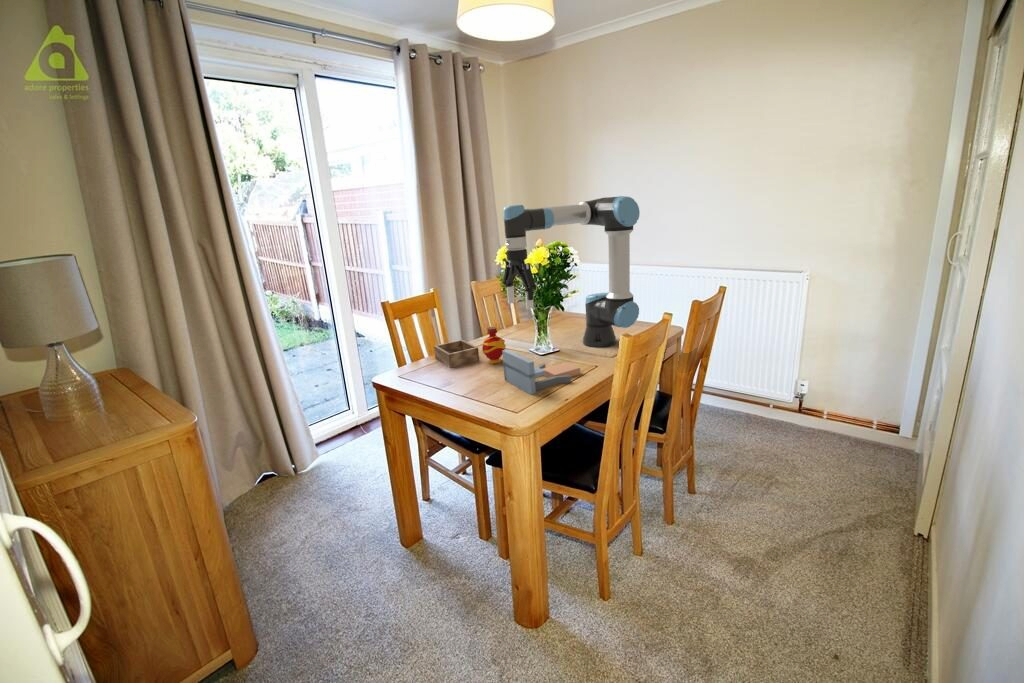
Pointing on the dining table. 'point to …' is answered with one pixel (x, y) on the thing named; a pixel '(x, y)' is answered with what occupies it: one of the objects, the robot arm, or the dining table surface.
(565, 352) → the dining table surface
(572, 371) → the terracotta tile
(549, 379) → the grey docking fixture
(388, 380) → the dining table surface
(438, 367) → the dining table surface
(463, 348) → the walnut display tray
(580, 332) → the dining table surface
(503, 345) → the potion bottle
